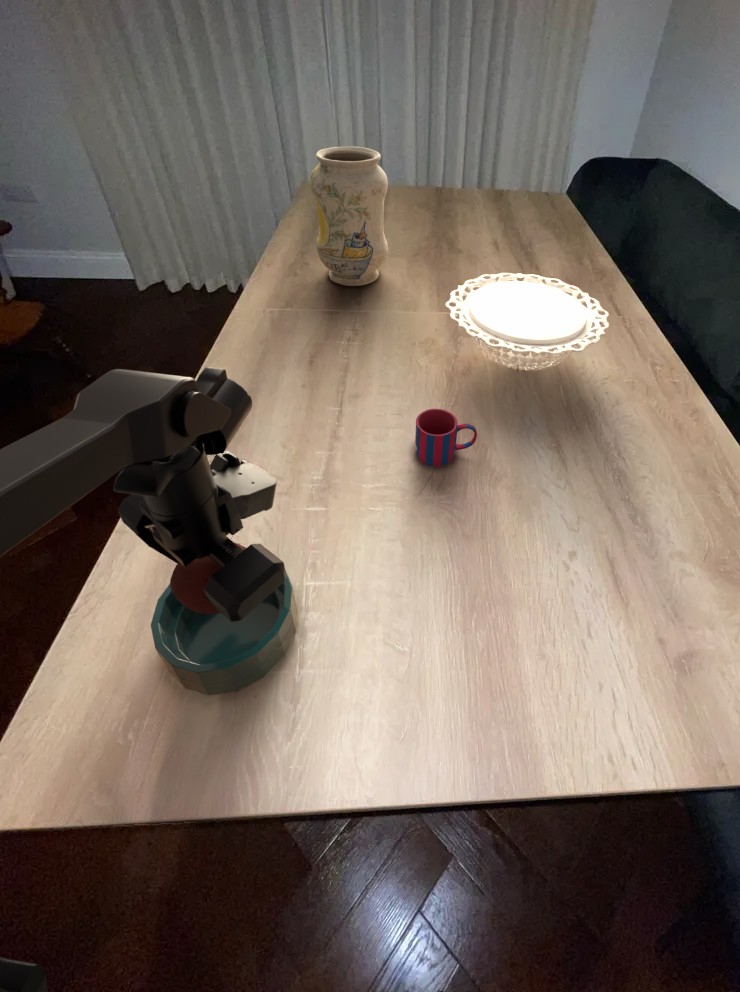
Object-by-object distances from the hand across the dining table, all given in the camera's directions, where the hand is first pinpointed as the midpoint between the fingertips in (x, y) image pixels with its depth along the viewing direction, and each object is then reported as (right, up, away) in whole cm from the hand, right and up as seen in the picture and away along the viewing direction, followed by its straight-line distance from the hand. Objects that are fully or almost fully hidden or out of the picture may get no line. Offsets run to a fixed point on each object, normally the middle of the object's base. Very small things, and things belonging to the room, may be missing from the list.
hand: (217, 588), depth 57 cm
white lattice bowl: (+40, +28, +54) cm, 73 cm away
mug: (+24, +11, +32) cm, 41 cm away
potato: (0, -1, +1) cm, 2 cm away
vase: (0, +52, +81) cm, 96 cm away
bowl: (-1, -7, +6) cm, 9 cm away
